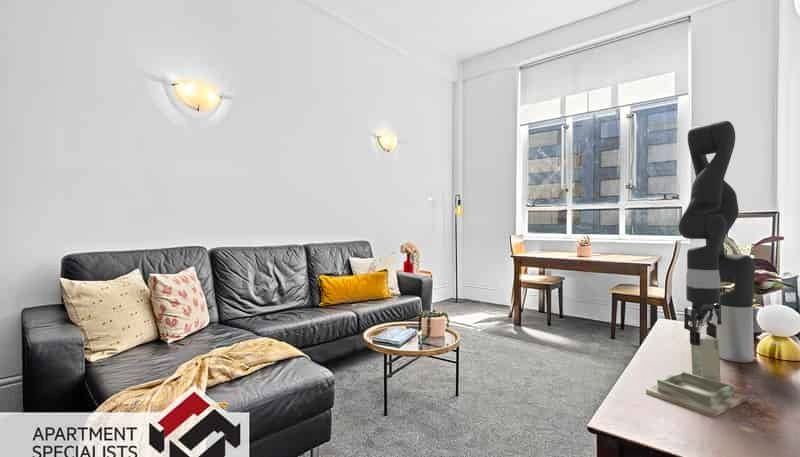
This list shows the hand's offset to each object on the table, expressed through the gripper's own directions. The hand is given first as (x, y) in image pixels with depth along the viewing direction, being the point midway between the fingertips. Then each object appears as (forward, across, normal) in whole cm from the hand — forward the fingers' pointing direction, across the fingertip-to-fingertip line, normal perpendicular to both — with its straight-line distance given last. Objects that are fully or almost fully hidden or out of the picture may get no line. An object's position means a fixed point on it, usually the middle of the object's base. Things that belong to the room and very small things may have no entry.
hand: (703, 342), depth 110 cm
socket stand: (+11, +13, +4) cm, 18 cm away
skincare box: (+11, -1, 0) cm, 11 cm away
